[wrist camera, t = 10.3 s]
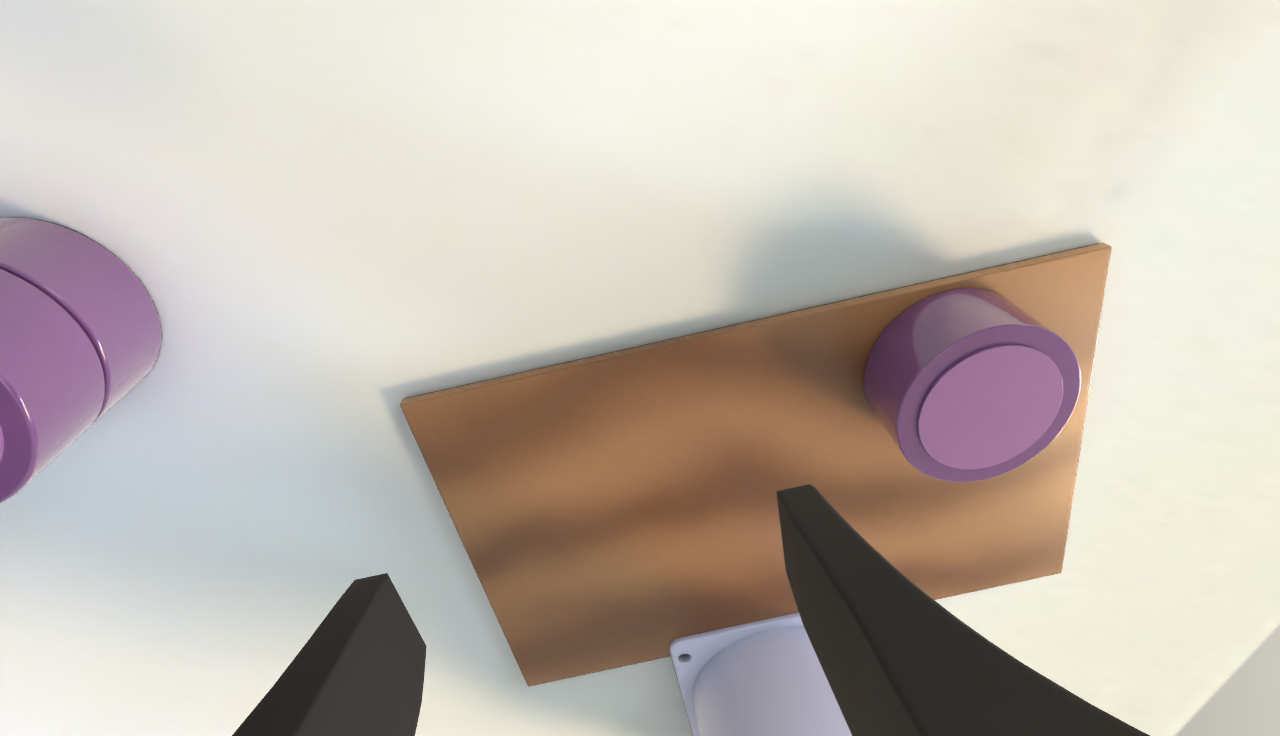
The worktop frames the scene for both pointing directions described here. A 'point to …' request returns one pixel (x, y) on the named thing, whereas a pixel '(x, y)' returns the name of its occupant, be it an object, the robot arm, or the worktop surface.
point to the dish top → (970, 384)
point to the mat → (730, 474)
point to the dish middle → (41, 382)
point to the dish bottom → (88, 296)
